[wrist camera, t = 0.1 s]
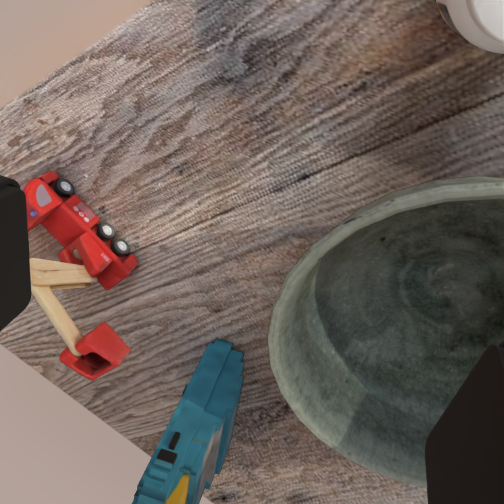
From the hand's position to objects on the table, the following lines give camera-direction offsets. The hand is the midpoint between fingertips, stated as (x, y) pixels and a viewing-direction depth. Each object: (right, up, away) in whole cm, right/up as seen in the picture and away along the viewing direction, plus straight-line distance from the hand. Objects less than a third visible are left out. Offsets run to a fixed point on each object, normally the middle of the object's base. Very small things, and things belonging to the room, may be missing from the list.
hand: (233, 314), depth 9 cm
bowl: (+14, 0, +23) cm, 27 cm away
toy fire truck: (-12, +2, +29) cm, 31 cm away
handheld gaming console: (-2, -10, +33) cm, 35 cm away
